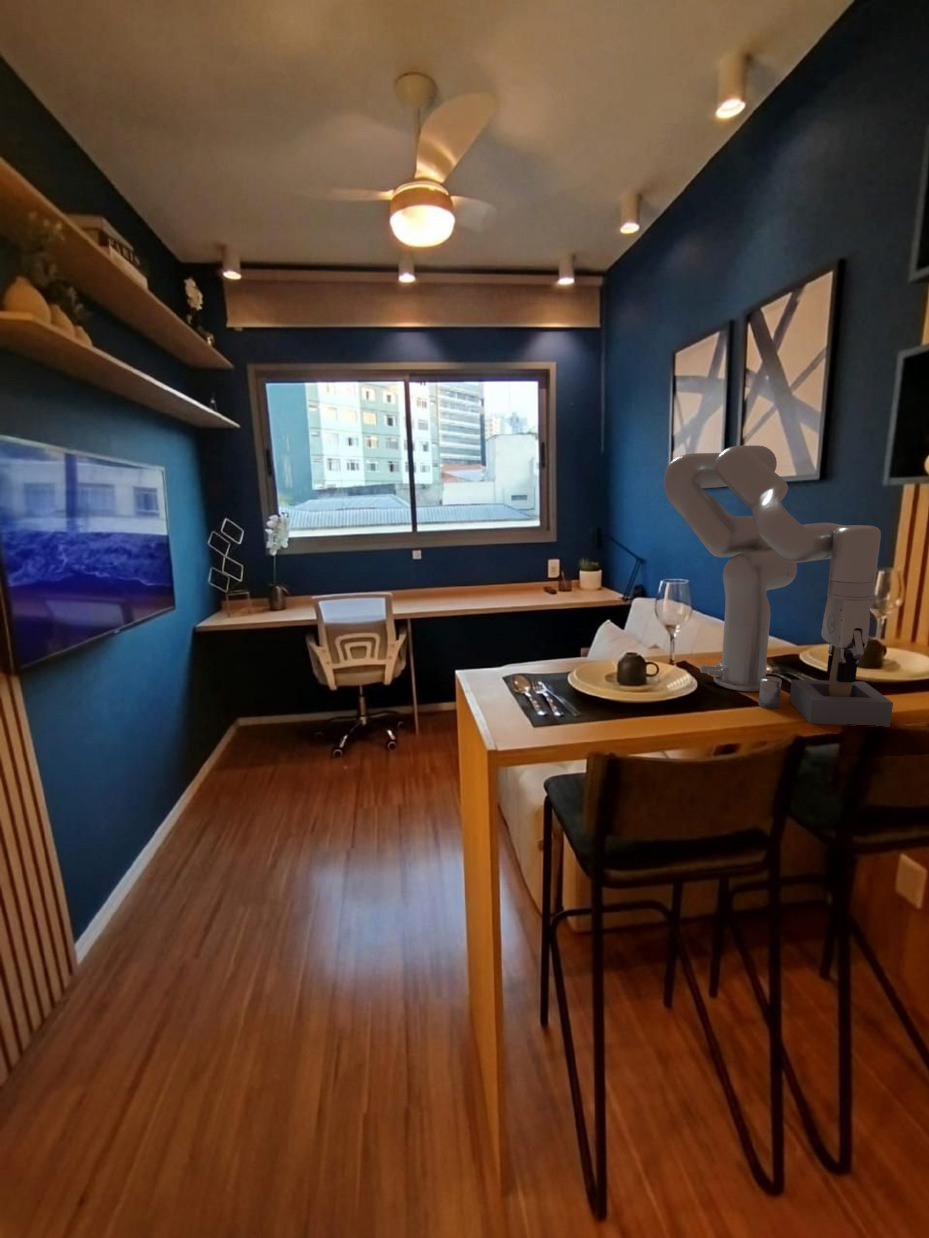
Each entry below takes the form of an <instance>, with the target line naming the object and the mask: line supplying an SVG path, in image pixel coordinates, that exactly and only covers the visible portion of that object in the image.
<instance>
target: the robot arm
mask: <svg viewBox="0 0 929 1238" xmlns="http://www.w3.org/2000/svg"><path fill="white" fill-rule="evenodd" d="M777 464H778V463H777V457H776V454H775V453H774V452H773V451H772V450H771V449H770V448H769V447H767V446H764V445H735V446H730V447H727V448H725V449H724V450H722V451H721V452H708V453H707V452H706V453H705V452H698V453H695V452H694V453H685V454H682V455H680V456H677V457H674V459H672V460H671V461H670V462H669V463H668V465H667V466H666V469H665V471H664V472H665V473H664V477H663V478H664V479H663V486H664V490H665V494H666V497H667V500H668V501H669V502H670V504H671V505H672V507H673V508H674V509H675V511H676V512H677V513H678V514H679V515H680V516H681V517H682V518H683V520H684V521H685V522H686V523H687V525H688V526H689V527H690V528H691V530H692V531H693V533H694V534H695V535H696V537H697V538H698V539H699V540H700V542H701V543H702V545H703V546H704V548H706V549H707V551H708V553H710V554H711V555H712V556H714V557H716V558H729V559H728V561H727V562H726V563H725V565H724V568H723V569H722V571H723V572H722V582H723V588H724V600H725V601H724V603H725V607H724V624H723V638H722V657H721V660H718V662H717V663H715V664H714V665H709V664H700V668H699V669H700V670H699V671H700V674H701V673H702V674H707V675H708V676H713V682H714V683H715V684H716V685H718V686H721V687H722V688H725V689H728V690H734V691H741V692H759V690H760V678H761V677H763V676H766V673H767V672H766V671H767V660H768V648H769V635H770V626H771V625H770V624H771V606H770V602H769V599H768V596H767V591H770V590H771V591H772V590H776V589H780V588H784V587H786V586H788V585H790V584H791V583H793V581H794V580H795V578H796V576H797V573H798V564H797V563H801V564H802V563H806V562H807V563H808V562H813V561H822V560H830V564H829V565H830V566H829V576H828V586H827V587H828V588H827V600H826V604H825V608H824V613H823V621H822V626H821V627H822V628H821V632H820V633H821V634H820V635H821V637H822V639H823V640H824V641H826V643H828V645H829V647H828V650H827V652H828V658H827V666H826V673H827V674H828V675H830V672H831V666H832V661H833V655H834V649H835V647H836V648H838V649H841V662H838V669H837V678H836V680H837V681H838V682H855V681H856V680H857V672H858V671H857V670H858V664H859V663H860V662H859V661H860V658H862V657H863V656H864V653H865V652H864V649H865V648H866V647H867V645H868V641H869V634H870V623H871V622H870V621H871V600H872V599H874V595H875V588H876V581H877V580H876V578H877V570H878V563H879V562H878V561H879V555H880V548H881V547H880V546H881V541H882V540H881V538H882V537H881V536H882V533H881V530H880V529H879V527H877V526H874V525H868V524H867V525H865V524H864V525H863V524H861V525H860V524H856V525H855V524H853V525H850V524H849V525H844V524H838V523H833V522H818V523H817V522H816V523H807V524H806V523H805V524H802V523H800V522H799V521H797V519H795V517H794V516H793V515H791V513H789V511H787V510H786V509H785V507H784V505H783V503H782V501H783V500H784V498H785V497H786V495H787V493H788V490H789V486H788V483H787V482H786V481H785V480H784V479H783V478H782V477H781V476H779V474H777V473H776V470H777ZM724 487H727V488H729V489H730V491H732V493H734V494H735V495H736V496H737V497H738V498H739V499H740V500H741V501H742V502H743V503H744V504H745V505H746V506H747V507H748V508H749V509H750V510H751V512H752V515H751V516H750V515H743V516H742V515H740V516H737V515H736V516H735V515H732V514H730V513H729V512H728V511H727V510H726V509H725V507H723V506H722V504H721V502H720V501H719V500H717V498H715V497H714V496H713V495H711V494H709V492H706V491H705V490H704V489H709V488H710V489H711V488H712V489H713V488H724ZM861 638H862V639H861ZM848 645H853V647H847V646H848ZM846 651H852V652H851V653H848V654H847V655H846ZM856 682H857V681H856Z"/></svg>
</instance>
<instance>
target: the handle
mask: <svg viewBox="0 0 929 1238" xmlns="http://www.w3.org/2000/svg"><path fill="white" fill-rule="evenodd" d="M861 639H862V638H861ZM847 647H853V645H848V646H847ZM851 652H852V651H846V655H847V654H848V653H851ZM838 662H841V649H838V648H836V647H835V649H834V655H833V661H832V666H831V672H830V674H829V680H828V681H829V694H830V695H831V696H829V697H849V696H850V693H851V688H852V682H838V681H837V680H836V678H837V669H838Z"/></svg>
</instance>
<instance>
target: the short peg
mask: <svg viewBox="0 0 929 1238" xmlns="http://www.w3.org/2000/svg"><path fill="white" fill-rule="evenodd" d="M781 693H782V679H781V678H779V677H777V676H771V675H770V676H769V675H768V676H767V675H765V676H763V677H761V678H760V690H759V691H758V701H757V702H758V706H759V707H760V708H763V709H768V710H778V709H779V708H780V704H781V703H780V702H781Z"/></svg>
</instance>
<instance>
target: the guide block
mask: <svg viewBox="0 0 929 1238" xmlns="http://www.w3.org/2000/svg"><path fill="white" fill-rule="evenodd" d="M829 696H831V695H830V694H829V680H820V679H818V680H816V679H815V680H814V679H812V680H811V679H791V681H790V693H789V702H790V704H791V705H793V707H794V708H795V709H796V710H797V712H799V714H800V715H802V717H803V718H804V719H805V720H806V721H807V722H808V723H809V724H811V725H816V724H817V725H834V726H835V725H837V726H848V725H847V724H865V725H876V726H875V727H878V726H884V727H883V728H890V727H891V723H892V722H891V721H892V720H891V719H892V716H893V715H892V714H893V706H894V702H893V701H891V700H890V699H889V698H887V697H886V696H884V695H883V694H882V693H881V692H879V691H878V690H877V689H875V688H874V687H872V686H871V685H870V684H868V683H867V682H866V681H855V682H852V688H851V693H850V696H849V697H829Z"/></svg>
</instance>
